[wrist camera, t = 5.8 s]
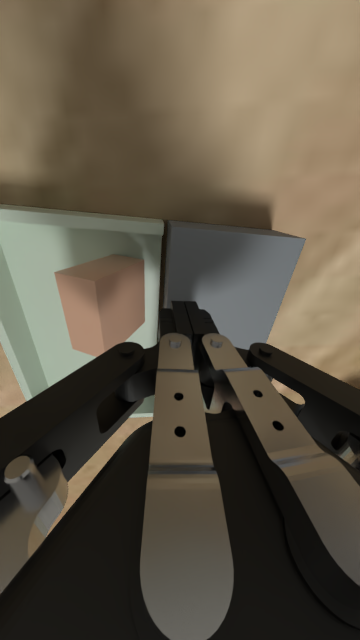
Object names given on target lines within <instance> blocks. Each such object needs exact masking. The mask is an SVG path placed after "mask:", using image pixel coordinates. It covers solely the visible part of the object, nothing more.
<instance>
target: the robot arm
mask: <svg viewBox="0 0 360 640" xmlns="http://www.w3.org/2000/svg"><path fill="white" fill-rule="evenodd" d="M158 341H159V342H158V343H157V344H156V345H155V346H153V347H150V348H146V349H144V348H143V347H142V346H141V345H140V344H138V343H135V342H123V343H119V344H117V345H115V346H114V347H112V348H110V349H109V350H107V351H106V352H104V353H102V354H101V355H99V356H98V357H96V358H95V359H93V360H91V361H90V362H88V363H87V364H85V365H83V366H82V367H80V368H79V369H77V370H76V371H74V372H72V373H71V374H69V375H68V376H66V377H65V378H63V379H61V380H60V381H58V382H57V383H55V384H53V385H52V386H50V387H49V388H47V389H46V390H44V391H42V392H41V393H39V394H38V395H36V396H35V397H33V398H31V399H30V400H28V401H27V402H25V403H23V404H22V405H20V406H19V407H17V408H16V409H14V410H12V411H11V412H9V413H8V414H6V415H4V416H3V417H1V418H0V640H360V390H359V389H357V388H355V387H353V386H351V385H349V384H347V383H345V382H343V381H341V380H339V379H337V378H335V377H333V376H331V375H329V374H327V373H325V372H323V371H321V370H319V369H317V368H315V367H313V366H311V365H309V364H307V363H305V362H303V361H301V360H299V359H297V358H295V357H293V356H291V355H289V354H287V353H285V352H283V351H281V350H279V349H277V348H275V347H273V346H271V345H269V344H266V343H260V342H258V343H253V344H251V345H250V348H249V350H246V349H242V348H237V347H234V346H233V344H232V343H231V341H230V340H229V339H228V338H227V337H225V336H223V335H221V334H220V333H219V331H218V329H217V327H216V325H215V323H214V321H213V319H212V317H211V315H210V313H208V312H207V311H206V310H205V309H199V307H198V305H197V302H196V301H184V302H183V301H171V304H170V308H162V309H161V311H160V312H159V327H158ZM273 378H274V379H275V380H277V381H279V382H280V383H282V384H284V385H285V386H287V387H289V388H291V389H292V390H294V391H296V392H297V393H299V394H300V395H301V396H302V397H303V398H304V400H305V404H302V405H300V404H296V403H294V402H293V401H291V400H290V399H288V398H286V397H285V396H283V395H282V394H280V393H278V391H277V390H276V388H275V387H274V386H273V384H272V383H271V381H272V379H273ZM152 395H155V400H154V411H153V421H151V422H149V423H146V424H145V425H143V426H141V427H140V428H138V429H137V430H136V431H134V432H133V433H132V434H131V435H130V436H129V437H128V438H127V439H126V440H125V441H124V442H123V444H122V445H121V446H120V447H119V449H118V450H117V451H116V452H115V453H114V455H113V456H112V457H111V458H110V460H109V461H108V462H107V463H106V465H105V466H104V467H103V468H102V469H101V471H100V472H99V473H98V474H97V476H96V477H95V478H94V479H93V481H92V482H91V483H90V484H89V485H88V487H87V488H86V489H85V490H84V492H83V493H82V494H81V495H80V497H79V498H78V499H77V500H76V501H75V503H74V504H73V505H72V506H71V508H70V509H69V510H68V511H67V513H66V514H65V515H64V516H63V517H62V519H61V520H60V521H59V522H58V524H57V525H56V526H55V527H54V529H53V530H52V531H51V532H50V533H49V535H48V536H47V537H46V535H47V533H48V531H49V529H50V527H51V526H52V524H53V523H54V521H55V520H56V518H57V517H58V516H59V514H60V513H61V511H62V509H63V508H64V505H65V503H66V500H67V497H68V483H67V482H68V481H69V480H70V479H71V478H72V477H73V476H74V475H75V474H76V473H77V472H78V471H79V470H80V469H81V467H82V466H83V465H84V464H85V463H86V462H87V461H88V460H89V459H90V458H91V457H92V456H93V455H94V454H95V453H96V452H97V451H98V450H99V448H100V447H101V446H102V445H103V444H104V443H105V442H106V441H107V440H108V439H109V438H110V437H111V436H112V435H113V434H114V433H115V432H116V430H117V429H118V428H119V427H120V426H121V425H122V424H123V423H124V422H125V421H126V420H127V419H128V418H129V417H130V416H131V415H132V414H133V413H134V411H135V410H136V409H137V408H138V407H139V406H140V405H141V404H142V403H143V401H144V398H146V397H149V396H152Z"/></svg>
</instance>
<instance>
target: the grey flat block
mask: <svg viewBox="0 0 360 640" xmlns="http://www.w3.org/2000/svg"><path fill="white" fill-rule="evenodd" d="M305 240H306V239H305V238H301V237H297V236H293V235H289V234H286V233H282V232H278V231H274V230H267V229H256V228H246V227H235V226H225V225H214V224H204V223H194V222H183V221H173V220H168V227H167V244H166V261H165V279H164V296H163V308H170V304H171V301H183V302H184V301H196V302H197V305H198V307H199V309H205V310H206V311H207V312H208V313H210V315H211V317H212V319H213V321H214V323H215V325H216V327H217V329H218V331H219V333H220V334H221V335H223V336H225V337H227V338H228V339H229V340H230V341H231V343H232V344H233V346H234V347H237V348H242V349H246V350H249V348H250V345H251V344H253V343H258V342H260V343H266V342H267V339H268V336H269V334H270V331H271V329H272V326H273V323H274V321H275V318H276V316H277V313H278V310H279V308H280V305H281V303H282V300H283V297H284V295H285V292H286V290H287V287H288V284H289V282H290V279H291V277H292V274H293V271H294V269H295V266H296V264H297V261H298V258H299V256H300V253H301V251H302V248H303V245H304V243H305Z"/></svg>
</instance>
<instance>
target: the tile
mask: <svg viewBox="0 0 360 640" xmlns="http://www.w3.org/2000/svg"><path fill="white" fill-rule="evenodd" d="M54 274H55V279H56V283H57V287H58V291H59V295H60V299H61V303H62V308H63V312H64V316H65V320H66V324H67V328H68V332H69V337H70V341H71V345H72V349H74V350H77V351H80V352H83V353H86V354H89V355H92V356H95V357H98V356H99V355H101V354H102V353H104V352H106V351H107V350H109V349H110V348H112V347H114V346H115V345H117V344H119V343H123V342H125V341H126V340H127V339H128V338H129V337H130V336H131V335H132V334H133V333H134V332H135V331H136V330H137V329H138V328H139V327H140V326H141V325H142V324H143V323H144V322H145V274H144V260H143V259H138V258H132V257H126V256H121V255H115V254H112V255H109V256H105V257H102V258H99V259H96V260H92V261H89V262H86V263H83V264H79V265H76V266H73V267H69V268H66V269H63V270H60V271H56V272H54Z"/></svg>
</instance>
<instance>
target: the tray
mask: <svg viewBox="0 0 360 640" xmlns="http://www.w3.org/2000/svg"><path fill="white" fill-rule="evenodd" d="M163 234H164V223H163V220H162V219H152V218H141V217H131V216H120V215H110V214H100V213H89V212H79V211H68V210H58V209H47V208H37V207H26V206H16V205H6V204H0V342H1V344H2V347H3V349H4V351H5V353H6V356H7V358H8V360H9V363H10V365H11V367H12V369H13V372H14V374H15V376H16V379H17V381H18V383H19V385H20V388H21V390H22V392H23V394H24V397H25V399H26V401H28V400H30V399H31V398H33V397H35V396H36V395H38V394H39V393H41V392H42V391H44V390H46V389H47V388H49V387H50V386H52V385H53V384H55V383H57V382H58V381H60V380H61V379H63V378H65V377H66V376H68V375H69V374H71V373H72V372H74V371H76V370H77V369H79V368H80V367H82V366H83V365H85V364H87V363H88V362H90V361H91V360H93V359H95V358H96V357H95V356H92V355H89V354H86V353H83V352H80V351H77V350H74V349H72V345H71V341H70V337H69V332H68V328H67V324H66V320H65V316H64V312H63V308H62V303H61V299H60V295H59V291H58V287H57V283H56V279H55V274H54V272H56V271H60V270H63V269H66V268H69V267H73V266H76V265H79V264H83V263H86V262H89V261H92V260H96V259H99V258H102V257H105V256H109V255H112V254H115V255H121V256H126V257H132V258H138V259H143V260H144V274H145V322H144V323H143V324H142V325H141V326H140V327H139V328H138V329H137V330H136V331H135V332H134V333H133V334H132V335H131V336H130V337H129V338H128V339H127V340H126V341H125V342H135V343H138V344H140V345H141V346H142V347H143V348H144V349H146V348H150V347H153V346H155V345H156V344H157V330H158V308H159V286H160V264H161V243H162V235H163ZM154 400H155V395H152V396H149V397H146V398H144V401H143V403H142V404H141V405H140V406H139V407H138V408H137V409H136V410H135V411H134V413H133V414H132V415H131V416H130V417H129V418H133V417H153V411H154Z"/></svg>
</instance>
